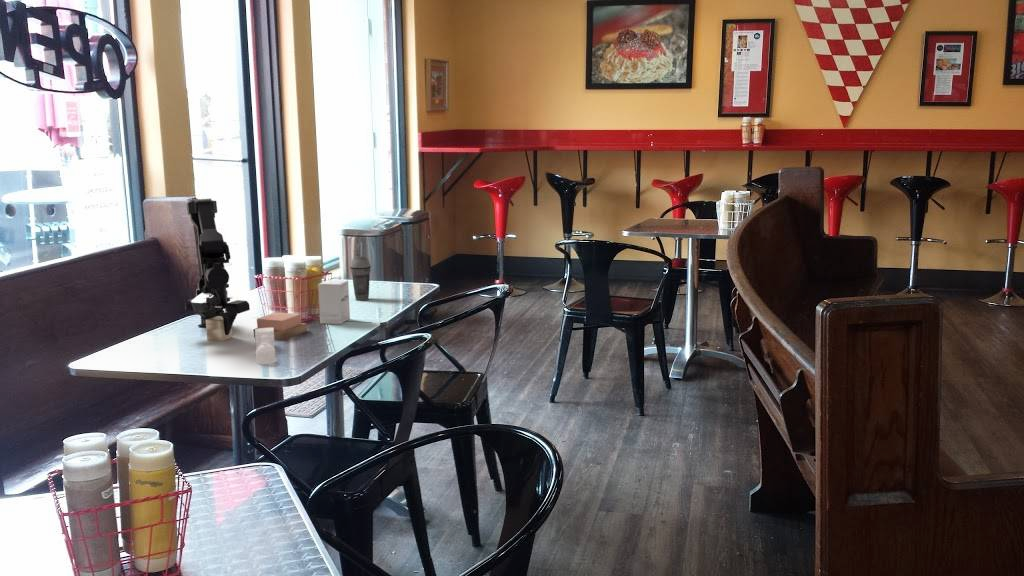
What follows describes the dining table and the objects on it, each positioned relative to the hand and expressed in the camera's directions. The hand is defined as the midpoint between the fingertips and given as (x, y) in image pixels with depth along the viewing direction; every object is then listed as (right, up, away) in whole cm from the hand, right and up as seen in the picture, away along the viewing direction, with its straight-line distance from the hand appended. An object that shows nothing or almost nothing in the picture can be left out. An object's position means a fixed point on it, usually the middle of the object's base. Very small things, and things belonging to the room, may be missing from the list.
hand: (219, 334), depth 260 cm
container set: (+19, -5, -18) cm, 26 cm away
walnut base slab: (+17, -1, +5) cm, 17 cm away
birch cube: (0, -1, 0) cm, 1 cm away
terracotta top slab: (+16, +2, +4) cm, 17 cm away
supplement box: (+30, +3, +20) cm, 36 cm away
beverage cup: (+33, +9, +52) cm, 62 cm away
